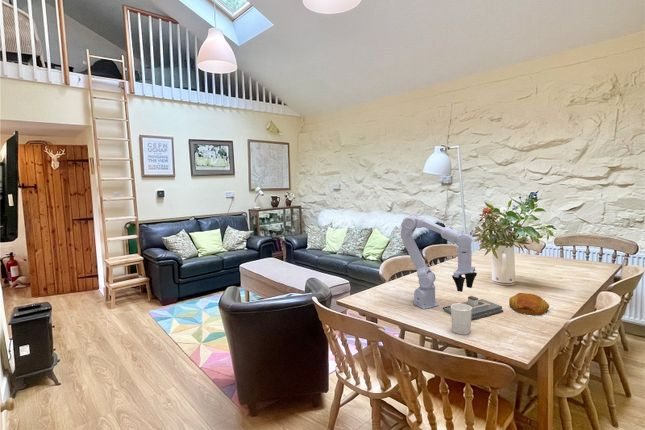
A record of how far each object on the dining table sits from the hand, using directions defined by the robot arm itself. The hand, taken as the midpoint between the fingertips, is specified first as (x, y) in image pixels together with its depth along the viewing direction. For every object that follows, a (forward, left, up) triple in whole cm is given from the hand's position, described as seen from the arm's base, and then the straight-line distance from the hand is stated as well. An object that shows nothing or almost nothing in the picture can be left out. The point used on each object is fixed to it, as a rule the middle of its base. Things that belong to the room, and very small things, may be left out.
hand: (464, 289), depth 161 cm
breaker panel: (+2, -3, -10) cm, 10 cm away
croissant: (+24, -14, -10) cm, 29 cm away
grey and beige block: (+2, -3, -8) cm, 9 cm away
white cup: (-18, -16, -10) cm, 26 cm away
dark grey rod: (+2, +5, -10) cm, 11 cm away
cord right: (+2, -10, -10) cm, 14 cm away
